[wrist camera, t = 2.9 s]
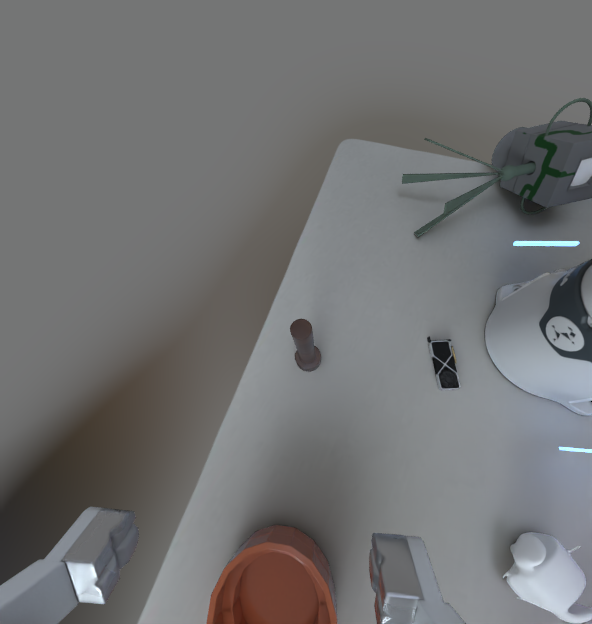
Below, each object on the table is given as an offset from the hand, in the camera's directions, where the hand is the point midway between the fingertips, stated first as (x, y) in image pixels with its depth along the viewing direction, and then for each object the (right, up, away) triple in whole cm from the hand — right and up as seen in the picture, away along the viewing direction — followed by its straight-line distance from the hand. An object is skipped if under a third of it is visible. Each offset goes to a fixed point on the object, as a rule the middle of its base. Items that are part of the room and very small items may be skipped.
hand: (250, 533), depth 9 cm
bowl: (0, -24, +22) cm, 33 cm away
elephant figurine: (+27, -19, +21) cm, 39 cm away
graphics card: (+20, 0, +29) cm, 36 cm away
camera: (+20, +26, +33) cm, 47 cm away
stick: (+3, +1, +32) cm, 32 cm away
